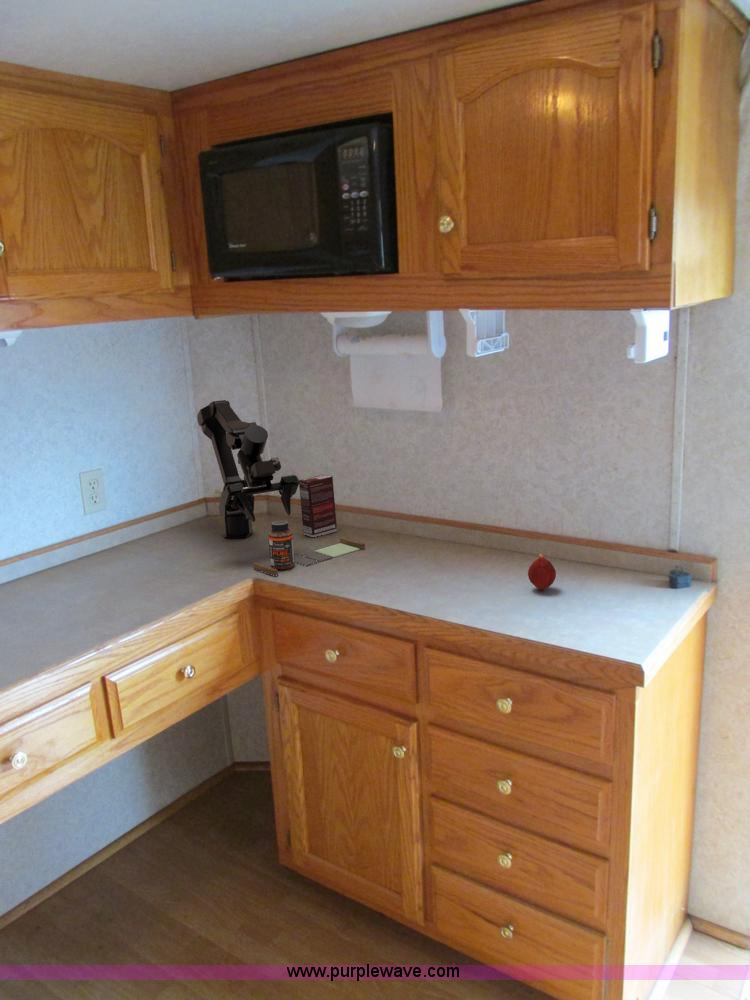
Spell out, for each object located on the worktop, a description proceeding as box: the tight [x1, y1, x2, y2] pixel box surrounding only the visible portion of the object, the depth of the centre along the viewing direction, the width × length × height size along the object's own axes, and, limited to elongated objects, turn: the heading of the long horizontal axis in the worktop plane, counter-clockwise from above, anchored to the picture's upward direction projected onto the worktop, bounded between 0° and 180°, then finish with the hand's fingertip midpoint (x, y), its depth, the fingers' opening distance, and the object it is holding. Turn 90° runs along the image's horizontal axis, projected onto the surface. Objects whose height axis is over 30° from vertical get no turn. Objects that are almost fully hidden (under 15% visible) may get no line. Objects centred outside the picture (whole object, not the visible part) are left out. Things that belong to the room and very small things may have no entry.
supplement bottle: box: [267, 520, 296, 570], centre depth 201 cm, size 6×6×11 cm
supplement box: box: [298, 474, 338, 538], centre depth 228 cm, size 9×5×16 cm, turn 130°
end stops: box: [252, 536, 366, 576], centre depth 207 cm, size 28×9×2 cm, turn 131°
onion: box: [527, 553, 557, 591], centre depth 176 cm, size 6×6×8 cm
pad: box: [314, 542, 361, 559], centre depth 213 cm, size 9×8×1 cm
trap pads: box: [294, 551, 333, 567], centre depth 207 cm, size 8×8×1 cm
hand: (272, 517), depth 204 cm, fingers open, 9 cm apart
